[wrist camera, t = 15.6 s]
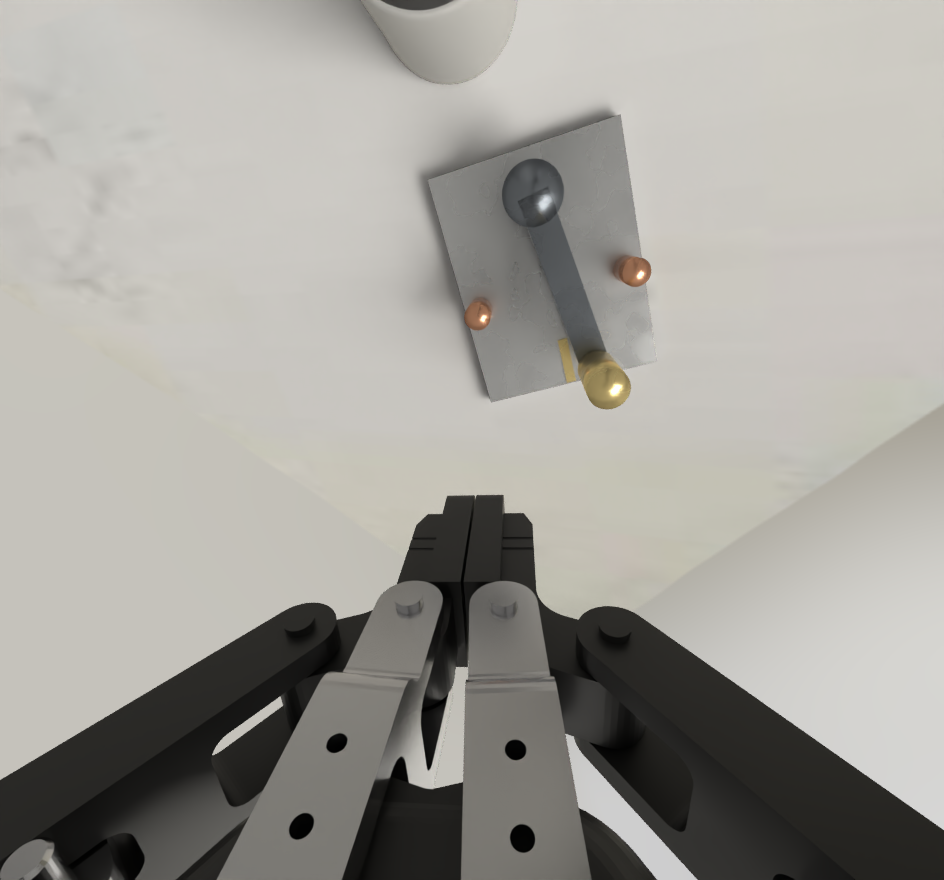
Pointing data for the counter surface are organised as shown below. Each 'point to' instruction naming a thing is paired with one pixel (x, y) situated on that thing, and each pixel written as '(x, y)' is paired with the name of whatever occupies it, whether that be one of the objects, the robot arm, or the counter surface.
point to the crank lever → (563, 276)
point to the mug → (445, 34)
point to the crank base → (520, 272)
